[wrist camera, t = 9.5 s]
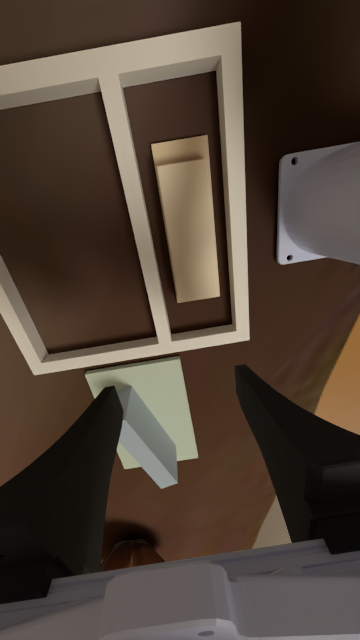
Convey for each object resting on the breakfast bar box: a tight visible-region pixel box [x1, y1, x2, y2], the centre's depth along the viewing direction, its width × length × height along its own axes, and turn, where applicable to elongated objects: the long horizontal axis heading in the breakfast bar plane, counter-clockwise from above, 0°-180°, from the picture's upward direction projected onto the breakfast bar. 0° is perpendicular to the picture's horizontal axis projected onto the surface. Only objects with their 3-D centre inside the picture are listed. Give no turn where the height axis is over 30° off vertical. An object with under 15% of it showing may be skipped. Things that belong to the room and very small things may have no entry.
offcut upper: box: [157, 158, 219, 303], centre depth 18 cm, size 4×10×1 cm, turn 8°
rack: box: [0, 21, 249, 375], centre depth 18 cm, size 21×21×2 cm
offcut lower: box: [151, 135, 220, 303], centre depth 19 cm, size 4×12×1 cm, turn 8°
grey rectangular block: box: [117, 386, 178, 489], centre depth 24 cm, size 2×11×4 cm, turn 25°
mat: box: [85, 356, 198, 469], centre depth 26 cm, size 10×16×1 cm, turn 9°
